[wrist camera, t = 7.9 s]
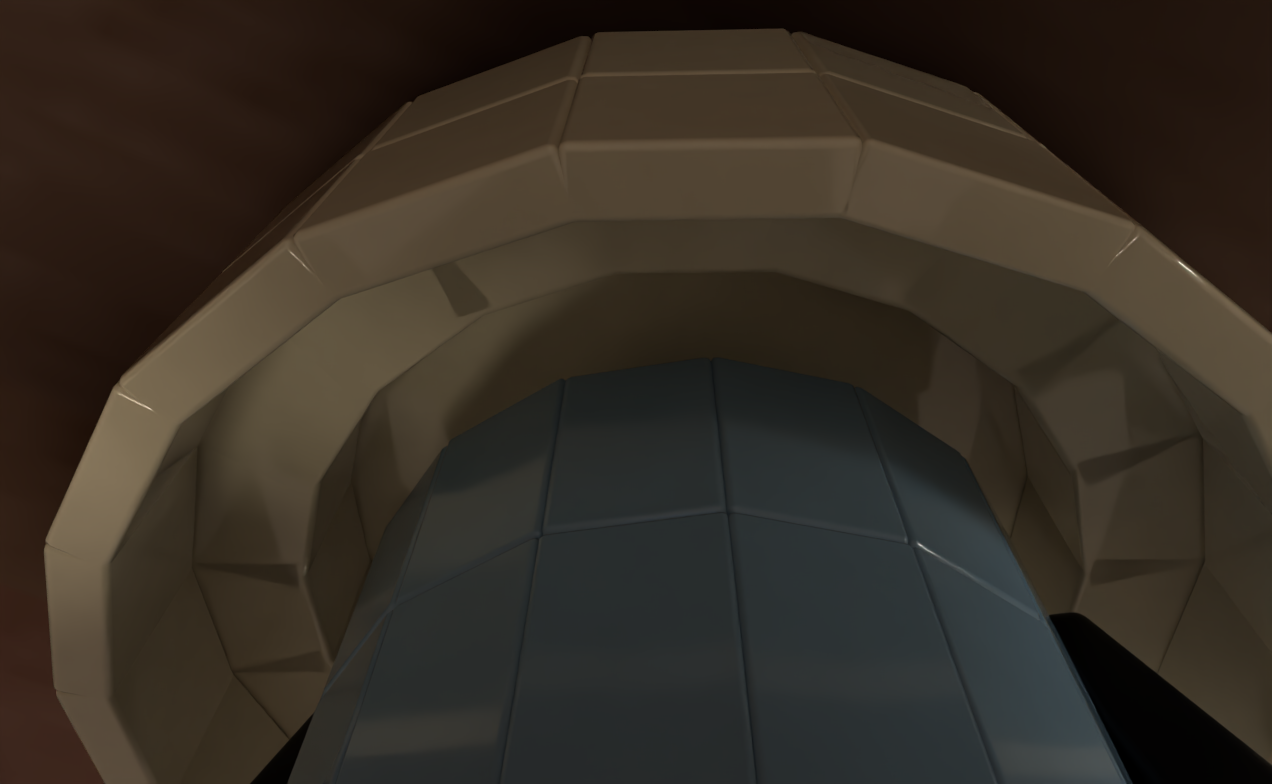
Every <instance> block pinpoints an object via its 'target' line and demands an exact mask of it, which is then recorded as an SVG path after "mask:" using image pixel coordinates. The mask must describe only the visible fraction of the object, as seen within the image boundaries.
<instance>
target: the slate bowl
mask: <svg viewBox="0 0 1272 784" xmlns="http://www.w3.org/2000/svg"><path fill="white" fill-rule="evenodd" d="M287 784H1133V782H1132V780H1131V778H1130V776H1129V774H1128V772H1127V770H1126V768H1125V766H1124V764H1123V762H1122V760H1121V758H1120V756H1119V754H1118V752H1117V750H1116V748H1115V746H1114V744H1113V742H1112V740H1111V738H1110V736H1109V734H1108V732H1107V730H1106V728H1105V726H1104V724H1103V722H1102V720H1101V719H1100V717H1099V715H1098V712H1097V710H1096V708H1095V706H1094V704H1093V702H1092V700H1091V698H1090V696H1089V694H1088V692H1087V690H1086V688H1085V686H1084V684H1083V682H1082V680H1081V678H1080V676H1079V674H1078V672H1077V670H1076V668H1075V666H1074V664H1073V662H1072V660H1071V658H1070V656H1069V654H1068V652H1067V650H1066V648H1065V646H1064V644H1063V642H1062V640H1061V638H1060V636H1059V634H1058V632H1057V630H1056V628H1055V626H1054V624H1053V622H1052V620H1051V618H1050V616H1049V614H1048V612H1047V610H1046V608H1045V606H1044V604H1043V602H1042V600H1041V598H1040V596H1039V594H1038V592H1037V590H1036V588H1035V586H1034V584H1033V582H1032V580H1031V578H1030V576H1029V574H1028V572H1027V570H1026V568H1025V566H1024V564H1023V562H1022V560H1021V558H1020V556H1019V554H1018V552H1017V550H1016V548H1015V546H1014V544H1013V542H1012V541H1011V539H1010V537H1009V535H1008V533H1007V532H1006V530H1005V528H1004V526H1003V524H1002V523H1001V521H1000V519H999V517H998V515H997V514H996V512H995V510H994V508H993V506H992V505H991V503H990V501H989V499H988V497H987V495H986V494H985V492H984V490H983V488H982V486H981V485H980V483H979V481H978V479H977V477H976V476H975V474H974V472H973V470H972V468H971V467H970V465H969V463H968V461H967V459H966V458H964V457H963V456H961V454H960V452H958V451H957V450H955V449H954V448H952V447H951V446H949V445H948V444H946V443H945V442H943V441H942V440H940V439H939V438H937V437H936V436H934V435H932V434H931V433H929V432H928V431H926V430H925V429H923V428H922V427H920V426H919V425H917V424H916V423H914V422H913V421H911V420H910V419H908V418H907V417H905V416H904V415H902V414H901V413H899V412H897V411H896V410H894V409H893V408H891V407H890V406H888V405H887V404H885V403H884V402H882V401H881V400H879V399H878V398H876V397H875V396H873V395H872V394H870V393H869V392H867V391H866V390H864V389H862V388H861V387H857V386H856V387H854V386H853V385H852V384H850V383H847V382H842V381H837V380H832V379H827V378H822V377H817V376H812V375H807V374H801V373H796V372H791V371H786V370H781V369H776V368H771V367H766V366H761V365H756V364H751V363H746V362H741V361H736V360H731V359H726V358H721V357H714V358H713V359H712V360H711V361H710V359H709V358H705V357H701V358H694V359H687V360H680V361H674V362H667V363H660V364H653V365H646V366H640V367H633V368H626V369H619V370H612V371H605V372H599V373H592V374H585V375H578V376H572V377H570V378H567V379H566V380H565V379H563V378H561V379H558V380H557V381H555V382H553V383H551V384H549V385H548V386H546V387H544V388H542V389H540V390H539V391H537V392H535V393H533V394H531V395H530V396H528V397H526V398H524V399H522V400H521V401H519V402H517V403H515V404H513V405H512V406H510V407H508V408H506V409H504V410H503V411H501V412H499V413H497V414H496V415H494V416H492V417H490V418H488V419H487V420H485V421H483V422H481V423H479V424H478V425H476V426H474V427H472V428H470V429H469V430H467V431H465V432H463V433H461V434H460V435H458V436H456V437H454V438H452V439H451V440H450V441H449V443H448V445H447V446H446V447H444V448H443V449H442V450H441V451H440V452H439V454H438V455H437V457H436V458H435V459H434V461H433V462H432V464H431V465H430V466H429V468H428V469H427V471H426V472H425V473H424V475H423V476H422V478H421V479H420V480H419V482H418V483H417V485H416V486H415V487H414V489H413V490H412V492H411V493H410V494H409V496H408V497H407V498H406V500H405V501H404V503H403V504H402V505H401V507H400V508H399V510H398V511H397V512H396V514H395V515H394V517H393V518H392V519H391V521H390V522H389V524H388V525H387V526H386V528H385V531H384V533H383V536H382V538H381V541H380V543H379V546H378V549H377V551H376V554H375V557H374V559H373V562H372V564H371V567H370V570H369V572H368V575H367V577H366V580H365V583H364V585H363V588H362V591H361V593H360V596H359V598H358V601H357V604H356V606H355V609H354V611H353V614H352V617H351V619H350V622H349V625H348V627H347V630H346V632H345V635H344V638H343V640H342V643H341V645H340V648H339V651H338V653H337V656H336V659H335V661H334V664H333V666H332V669H331V672H330V674H329V677H328V679H327V682H326V685H325V687H324V690H323V692H322V695H321V698H320V701H319V703H318V704H317V707H316V710H315V712H314V715H313V717H312V720H311V723H310V725H309V728H308V730H307V733H306V736H305V738H304V741H303V743H302V746H301V749H300V751H299V754H298V757H297V759H296V762H295V764H294V767H293V770H292V772H291V775H290V777H289V780H288V783H287Z"/></svg>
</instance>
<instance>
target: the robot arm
mask: <svg viewBox="0 0 1272 784" xmlns="http://www.w3.org/2000/svg"><path fill="white" fill-rule="evenodd" d="M1049 616H1050V618H1051V620H1052V622H1053V624H1054V626H1055V628H1056V630H1057V632H1058V634H1059V636H1060V638H1061V640H1062V642H1063V644H1064V646H1065V648H1066V650H1067V652H1068V654H1069V656H1070V658H1071V660H1072V662H1073V664H1074V666H1075V668H1076V670H1077V672H1078V674H1079V676H1080V678H1081V680H1082V682H1083V684H1084V686H1085V688H1086V690H1087V692H1088V694H1089V696H1090V698H1091V700H1092V702H1093V704H1094V706H1095V708H1096V710H1097V712H1098V715H1099V717H1100V719H1101V720H1102V722H1103V724H1104V726H1105V728H1106V730H1107V732H1108V734H1109V736H1110V738H1111V740H1112V742H1113V744H1114V746H1115V748H1116V750H1117V752H1118V754H1119V756H1120V758H1121V760H1122V762H1123V764H1124V766H1125V768H1126V770H1127V772H1128V774H1129V776H1130V778H1131V780H1132V782H1133V784H1272V765H1271V764H1270V763H1269V762H1268V761H1266V760H1265V759H1264V758H1263V757H1261V756H1260V755H1259V754H1258V753H1256V752H1255V751H1254V750H1253V749H1251V748H1250V747H1249V746H1248V745H1246V744H1245V743H1244V742H1243V741H1241V740H1240V739H1239V738H1238V737H1236V736H1235V735H1234V734H1233V733H1231V732H1230V731H1229V730H1228V729H1226V728H1225V727H1224V726H1223V725H1221V724H1220V723H1219V722H1218V721H1216V720H1215V719H1214V718H1213V717H1211V716H1210V715H1209V714H1207V713H1206V712H1205V711H1204V710H1202V709H1201V708H1200V707H1199V706H1197V705H1196V704H1195V703H1194V702H1192V701H1191V700H1190V699H1189V698H1187V697H1186V696H1185V695H1184V694H1182V693H1181V692H1180V691H1179V690H1177V689H1176V688H1175V687H1174V686H1172V685H1171V684H1170V683H1169V682H1167V681H1166V680H1165V679H1164V678H1162V677H1161V676H1160V675H1159V674H1157V673H1156V672H1155V671H1154V670H1152V669H1151V668H1150V667H1149V666H1147V665H1146V664H1145V663H1143V662H1142V661H1141V660H1140V659H1138V658H1137V657H1136V656H1135V655H1133V654H1132V653H1131V652H1130V651H1128V650H1127V649H1126V648H1125V647H1123V646H1122V645H1121V644H1120V643H1118V642H1117V641H1116V640H1115V639H1113V638H1112V637H1111V636H1110V635H1108V634H1107V633H1106V632H1105V631H1103V630H1102V629H1101V628H1100V627H1098V626H1097V625H1096V624H1095V623H1093V622H1092V621H1091V620H1090V619H1088V618H1087V617H1086V616H1084V615H1082V614H1080V613H1077V612H1068V613H1059V614H1050V615H1049ZM313 715H314V713H313V714H312V715H311V716H310V717H309V718H308V719H307V721H306V722H305V723H304V724H303V725H302V726H301V727H300V728H299V729H298V731H297V732H296V733H295V734H294V735H293V736H292V737H291V738H290V739H289V741H288V742H287V743H286V744H285V745H284V746H283V747H282V748H281V749H280V751H279V752H278V753H277V754H276V755H275V756H274V757H273V758H272V760H271V761H270V762H269V763H268V764H267V765H266V766H265V767H264V768H263V770H262V771H261V772H260V773H259V774H258V775H257V776H256V777H255V778H254V780H253V781H252V782H251V783H250V784H287V783H288V780H289V777H290V775H291V772H292V770H293V767H294V764H295V762H296V759H297V757H298V754H299V751H300V749H301V746H302V743H303V741H304V738H305V736H306V733H307V730H308V728H309V725H310V723H311V720H312V717H313Z"/></svg>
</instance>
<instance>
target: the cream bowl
mask: <svg viewBox="0 0 1272 784" xmlns="http://www.w3.org/2000/svg"><path fill="white" fill-rule="evenodd" d="M701 357H705V358H709V359H710V361H711V360H712V359H713V358H714V357H721V358H726V359H731V360H736V361H741V362H746V363H751V364H756V365H761V366H766V367H771V368H776V369H781V370H786V371H791V372H796V373H801V374H807V375H812V376H817V377H822V378H827V379H832V380H837V381H842V382H847V383H850V384H852V385H853V386H854V387H856V386H857V387H861V388H862V389H864V390H866V391H867V392H869V393H870V394H872V395H873V396H875V397H876V398H878V399H879V400H881V401H882V402H884V403H885V404H887V405H888V406H890V407H891V408H893V409H894V410H896V411H897V412H899V413H901V414H902V415H904V416H905V417H907V418H908V419H910V420H911V421H913V422H914V423H916V424H917V425H919V426H920V427H922V428H923V429H925V430H926V431H928V432H929V433H931V434H932V435H934V436H936V437H937V438H939V439H940V440H942V441H943V442H945V443H946V444H948V445H949V446H951V447H952V448H954V449H955V450H957V451H958V452H960V454H961V456H963V457H964V458H966V459H967V461H968V463H969V465H970V467H971V468H972V470H973V472H974V474H975V476H976V477H977V479H978V481H979V483H980V485H981V486H982V488H983V490H984V492H985V494H986V495H987V497H988V499H989V501H990V503H991V505H992V506H993V508H994V510H995V512H996V514H997V515H998V517H999V519H1000V521H1001V523H1002V524H1003V526H1004V528H1005V530H1006V532H1007V533H1008V535H1009V537H1010V539H1011V541H1012V542H1013V544H1014V546H1015V548H1016V550H1017V552H1018V554H1019V556H1020V558H1021V560H1022V562H1023V564H1024V566H1025V568H1026V570H1027V572H1028V574H1029V576H1030V578H1031V580H1032V582H1033V584H1034V586H1035V588H1036V590H1037V592H1038V594H1039V596H1040V598H1041V600H1042V602H1043V604H1044V606H1045V608H1046V610H1047V612H1048V614H1049V615H1050V614H1059V613H1068V612H1077V613H1080V614H1082V615H1084V616H1086V617H1087V618H1088V619H1090V620H1091V621H1092V622H1093V623H1095V624H1096V625H1097V626H1098V627H1100V628H1101V629H1102V630H1103V631H1105V632H1106V633H1107V634H1108V635H1110V636H1111V637H1112V638H1113V639H1115V640H1116V641H1117V642H1118V643H1120V644H1121V645H1122V646H1123V647H1125V648H1126V649H1127V650H1128V651H1130V652H1131V653H1132V654H1133V655H1135V656H1136V657H1137V658H1138V659H1140V660H1141V661H1142V662H1143V663H1145V664H1146V665H1147V666H1149V667H1150V668H1151V669H1152V670H1154V671H1155V672H1156V673H1157V674H1159V675H1160V676H1161V677H1162V678H1164V679H1165V680H1166V681H1167V682H1169V683H1170V684H1171V685H1172V686H1174V687H1175V688H1176V689H1177V690H1179V691H1180V692H1181V693H1182V694H1184V695H1185V696H1186V697H1187V698H1189V699H1190V700H1191V701H1192V702H1194V703H1195V704H1196V705H1197V706H1199V707H1200V708H1201V709H1202V710H1204V711H1205V712H1206V713H1207V714H1209V715H1210V716H1211V717H1213V718H1214V719H1215V720H1216V721H1218V722H1219V723H1220V724H1221V725H1223V726H1224V727H1225V728H1226V729H1228V730H1229V731H1230V732H1231V733H1233V734H1234V735H1235V736H1236V737H1238V738H1239V739H1240V740H1241V741H1243V742H1244V743H1245V744H1246V745H1248V746H1249V747H1250V748H1251V749H1253V750H1254V751H1255V752H1256V753H1258V754H1259V755H1260V756H1261V757H1263V758H1264V759H1265V760H1266V761H1268V762H1269V763H1270V764H1271V765H1272V333H1271V332H1270V331H1269V330H1267V329H1266V328H1265V327H1264V326H1263V325H1261V324H1260V323H1259V322H1258V321H1257V320H1255V319H1254V318H1253V317H1252V316H1250V315H1249V314H1248V313H1247V312H1246V311H1244V310H1243V309H1242V308H1241V307H1240V306H1238V305H1237V304H1236V303H1235V302H1234V301H1232V300H1231V299H1230V298H1229V297H1228V296H1226V295H1225V294H1224V293H1223V292H1222V291H1220V290H1219V289H1218V288H1217V287H1215V286H1214V285H1213V284H1212V283H1211V282H1209V281H1208V280H1207V279H1206V278H1205V277H1203V276H1202V275H1201V274H1200V273H1199V272H1197V271H1196V270H1195V269H1194V268H1193V267H1191V266H1190V265H1189V264H1188V263H1186V262H1185V261H1184V260H1183V259H1182V258H1180V257H1179V256H1178V255H1177V254H1176V253H1174V252H1173V251H1172V250H1171V249H1170V248H1168V247H1167V246H1166V245H1165V244H1164V243H1162V242H1161V241H1160V240H1159V239H1158V238H1156V237H1155V236H1154V235H1153V234H1151V233H1150V232H1149V231H1148V230H1147V229H1145V228H1144V227H1143V226H1142V225H1141V224H1139V223H1138V222H1137V221H1136V220H1134V219H1133V218H1132V217H1131V216H1130V215H1128V214H1127V213H1126V212H1125V211H1123V210H1122V209H1121V208H1120V207H1118V206H1117V205H1116V204H1115V203H1114V202H1112V201H1111V200H1110V199H1109V198H1107V197H1106V196H1105V195H1104V194H1103V193H1101V192H1100V191H1099V190H1098V189H1096V188H1095V187H1094V186H1093V185H1091V184H1090V183H1089V182H1088V181H1087V180H1085V179H1084V178H1083V177H1082V176H1080V175H1079V174H1078V173H1077V172H1076V171H1074V170H1073V169H1072V168H1071V167H1069V166H1068V165H1067V164H1066V163H1064V162H1063V161H1062V160H1061V159H1060V158H1058V157H1057V156H1056V155H1055V154H1053V153H1052V152H1051V151H1050V150H1049V149H1047V148H1046V147H1045V146H1044V145H1042V144H1041V143H1040V142H1039V141H1037V140H1036V139H1035V138H1034V137H1033V136H1031V135H1030V134H1029V133H1028V132H1026V131H1025V130H1024V129H1023V128H1022V127H1020V126H1019V125H1018V124H1017V123H1015V122H1014V121H1013V120H1012V119H1010V118H1009V117H1008V116H1007V115H1006V114H1004V113H1003V112H1002V111H1001V110H999V109H998V108H997V107H996V106H995V105H993V104H992V103H991V102H990V101H988V100H987V99H986V98H985V97H983V96H982V95H981V94H980V93H976V92H972V91H971V90H970V89H968V88H967V87H966V86H963V85H960V84H957V83H954V82H951V81H948V80H945V79H942V78H939V77H936V76H933V75H930V74H927V73H924V72H921V71H918V70H915V69H912V68H909V67H906V66H903V65H900V64H897V63H894V62H891V61H888V60H885V59H882V58H879V57H876V56H873V55H870V54H867V53H864V52H861V51H858V50H855V49H852V48H849V47H846V46H843V45H840V44H837V43H834V42H831V41H828V40H825V39H821V38H818V37H815V36H812V35H809V34H806V33H803V32H794V33H793V34H792V35H791V34H790V32H789V31H787V30H785V29H737V30H687V31H637V32H598V33H596V34H594V35H593V36H592V39H590V38H589V37H588V36H580V37H577V38H574V39H571V40H569V41H566V42H563V43H561V44H558V45H555V46H553V47H550V48H547V49H544V50H542V51H539V52H536V53H534V54H531V55H528V56H526V57H523V58H520V59H517V60H515V61H512V62H509V63H507V64H504V65H501V66H499V67H496V68H493V69H490V70H488V71H485V72H482V73H480V74H477V75H474V76H472V77H469V78H466V79H464V80H461V81H458V82H455V83H453V84H450V85H447V86H445V87H442V88H439V89H437V90H434V91H431V92H428V93H426V94H423V95H420V96H418V97H417V98H416V99H415V100H414V101H413V102H407V103H405V104H404V105H403V106H401V107H400V108H399V109H398V110H397V111H396V112H394V113H393V114H392V115H391V116H390V117H389V118H388V119H386V120H385V121H384V122H383V123H382V124H381V125H379V126H378V127H377V128H376V129H375V130H374V131H372V132H371V133H370V134H369V135H368V136H367V137H365V138H364V139H363V140H362V141H361V142H360V143H359V144H357V145H356V146H355V147H354V148H353V149H352V150H350V151H349V152H348V153H347V154H346V155H345V156H343V157H342V158H341V159H340V160H339V161H338V162H337V163H335V164H334V165H333V166H332V167H331V168H330V169H328V170H327V171H326V172H325V173H324V174H323V175H321V176H320V177H319V178H318V179H317V180H316V181H314V182H313V183H312V184H311V185H310V186H309V187H308V188H306V189H305V190H304V191H303V192H302V193H301V194H299V195H298V196H297V197H296V198H295V199H294V200H292V201H291V202H290V203H289V204H288V205H287V206H286V207H285V208H284V209H283V210H282V211H281V212H280V213H279V214H278V215H277V216H276V217H275V218H274V219H273V220H272V221H271V222H270V223H269V224H268V225H267V226H266V227H265V228H264V229H263V230H262V231H261V232H260V233H259V234H258V235H257V237H256V238H255V239H254V240H253V241H252V242H251V243H250V244H249V245H248V246H247V247H246V248H245V249H244V250H243V251H242V252H241V253H240V254H239V255H238V256H237V257H236V258H235V259H234V260H233V261H232V262H231V263H230V264H229V265H228V266H227V267H226V268H225V269H224V270H223V271H222V274H220V275H219V276H218V277H217V278H216V279H215V280H214V281H213V282H212V283H211V284H210V285H209V286H208V287H207V288H206V289H205V290H204V291H203V292H202V293H201V294H200V295H199V296H198V297H197V298H196V299H195V300H194V301H193V302H192V303H191V304H190V305H189V307H188V308H187V309H186V310H185V311H184V312H183V313H182V314H181V315H180V316H179V317H178V318H177V319H176V320H175V321H174V322H173V323H172V324H171V325H170V326H169V327H168V328H167V329H166V330H165V331H164V332H163V333H162V334H161V335H160V336H159V337H158V338H157V339H156V340H155V341H154V342H153V344H152V345H151V346H150V347H149V348H148V349H147V350H146V351H145V352H144V353H143V354H142V355H141V356H140V357H139V358H138V359H137V360H136V361H135V362H134V363H133V364H132V365H131V366H130V367H129V368H128V369H127V370H126V371H125V372H124V373H123V374H122V375H121V378H120V380H119V381H118V382H117V383H116V384H115V385H114V386H113V388H112V390H111V392H110V394H109V397H108V399H107V401H106V403H105V405H104V408H103V410H102V412H101V414H100V417H99V419H98V421H97V423H96V426H95V428H94V430H93V432H92V435H91V437H90V439H89V441H88V443H87V446H86V448H85V450H84V452H83V455H82V457H81V459H80V461H79V464H78V466H77V468H76V470H75V473H74V475H73V477H72V479H71V481H70V484H69V486H68V488H67V490H66V493H65V495H64V497H63V499H62V502H61V504H60V506H59V508H58V511H57V513H56V515H55V517H54V519H53V522H52V524H51V526H50V528H49V531H48V533H47V535H46V545H45V547H44V560H45V574H46V588H47V602H48V616H49V630H50V644H51V658H52V672H53V686H54V688H55V690H57V692H56V697H57V698H58V700H59V702H60V704H61V706H62V707H63V709H64V711H65V713H66V715H67V717H68V718H69V720H70V722H71V724H72V726H73V728H74V729H75V731H76V733H77V735H78V737H79V738H80V740H81V742H82V744H83V746H84V748H85V749H86V751H87V753H88V755H89V757H90V758H91V760H92V762H93V764H94V766H95V768H96V769H97V771H98V773H99V775H100V777H101V778H102V780H103V782H104V784H250V783H251V782H252V781H253V780H254V778H255V777H256V776H257V775H258V774H259V773H260V772H261V771H262V770H263V768H264V767H265V766H266V765H267V764H268V763H269V762H270V761H271V760H272V758H273V757H274V756H275V755H276V754H277V753H278V752H279V751H280V749H281V748H282V747H283V746H284V745H285V744H286V743H287V742H288V741H289V739H290V738H291V737H292V736H293V735H294V734H295V733H296V732H297V731H298V729H299V728H300V727H301V726H302V725H303V724H304V723H305V722H306V721H307V719H308V718H309V717H310V716H311V715H312V714H313V713H314V712H315V710H316V707H317V704H318V703H319V701H320V698H321V695H322V692H323V690H324V687H325V685H326V682H327V679H328V677H329V674H330V672H331V669H332V666H333V664H334V661H335V659H336V656H337V653H338V651H339V648H340V645H341V643H342V640H343V638H344V635H345V632H346V630H347V627H348V625H349V622H350V619H351V617H352V614H353V611H354V609H355V606H356V604H357V601H358V598H359V596H360V593H361V591H362V588H363V585H364V583H365V580H366V577H367V575H368V572H369V570H370V567H371V564H372V562H373V559H374V557H375V554H376V551H377V549H378V546H379V543H380V541H381V538H382V536H383V533H384V531H385V528H386V526H387V525H388V524H389V522H390V521H391V519H392V518H393V517H394V515H395V514H396V512H397V511H398V510H399V508H400V507H401V505H402V504H403V503H404V501H405V500H406V498H407V497H408V496H409V494H410V493H411V492H412V490H413V489H414V487H415V486H416V485H417V483H418V482H419V480H420V479H421V478H422V476H423V475H424V473H425V472H426V471H427V469H428V468H429V466H430V465H431V464H432V462H433V461H434V459H435V458H436V457H437V455H438V454H439V452H440V451H441V450H442V449H443V448H444V447H446V446H447V445H448V443H449V441H450V440H451V439H452V438H454V437H456V436H458V435H460V434H461V433H463V432H465V431H467V430H469V429H470V428H472V427H474V426H476V425H478V424H479V423H481V422H483V421H485V420H487V419H488V418H490V417H492V416H494V415H496V414H497V413H499V412H501V411H503V410H504V409H506V408H508V407H510V406H512V405H513V404H515V403H517V402H519V401H521V400H522V399H524V398H526V397H528V396H530V395H531V394H533V393H535V392H537V391H539V390H540V389H542V388H544V387H546V386H548V385H549V384H551V383H553V382H555V381H557V380H558V379H561V378H563V379H565V380H566V379H567V378H570V377H572V376H578V375H585V374H592V373H599V372H605V371H612V370H619V369H626V368H633V367H640V366H646V365H653V364H660V363H667V362H674V361H680V360H687V359H694V358H701Z"/></svg>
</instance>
